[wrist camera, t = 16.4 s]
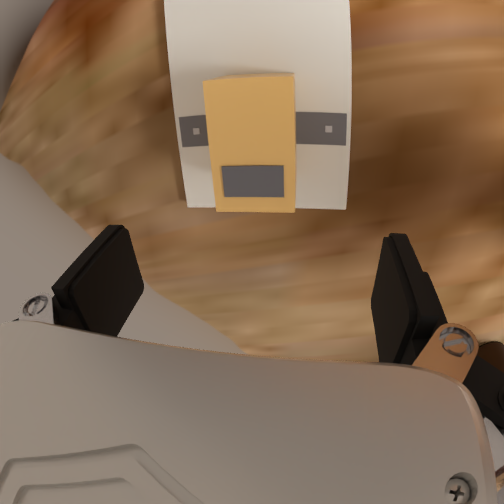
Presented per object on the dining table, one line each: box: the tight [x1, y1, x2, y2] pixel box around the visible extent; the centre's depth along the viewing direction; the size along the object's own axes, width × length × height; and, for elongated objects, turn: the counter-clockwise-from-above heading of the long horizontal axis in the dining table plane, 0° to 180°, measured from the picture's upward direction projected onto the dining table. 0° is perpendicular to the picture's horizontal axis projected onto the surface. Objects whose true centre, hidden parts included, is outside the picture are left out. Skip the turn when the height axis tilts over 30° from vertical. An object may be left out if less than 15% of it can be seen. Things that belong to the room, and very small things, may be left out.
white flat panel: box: [164, 0, 352, 210], centre depth 25 cm, size 16×28×1 cm, turn 3°
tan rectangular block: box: [203, 73, 296, 213], centre depth 24 cm, size 6×10×7 cm, turn 3°
